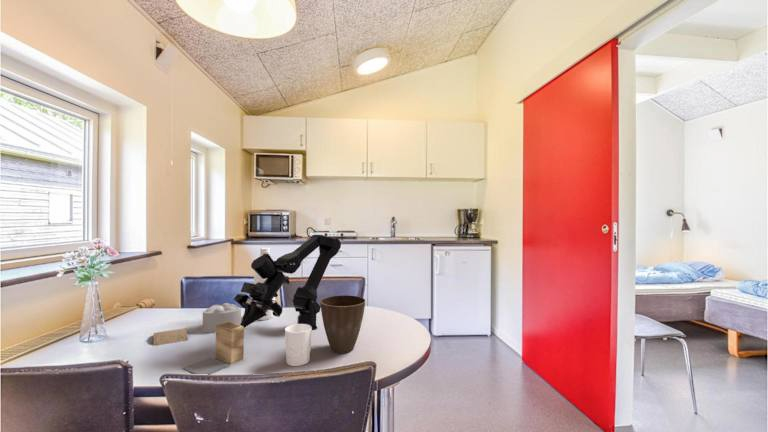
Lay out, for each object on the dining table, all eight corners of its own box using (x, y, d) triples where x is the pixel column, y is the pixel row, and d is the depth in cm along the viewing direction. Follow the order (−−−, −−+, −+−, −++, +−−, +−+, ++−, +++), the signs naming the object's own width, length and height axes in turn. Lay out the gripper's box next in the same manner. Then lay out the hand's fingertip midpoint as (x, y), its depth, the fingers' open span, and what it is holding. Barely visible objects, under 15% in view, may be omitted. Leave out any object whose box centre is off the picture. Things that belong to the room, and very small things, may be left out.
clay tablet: (188, 342, 111) (188, 334, 111) (152, 349, 105) (152, 340, 105) (185, 330, 123) (185, 323, 123) (153, 335, 117) (153, 328, 117)
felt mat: (210, 358, 97) (210, 357, 97) (229, 366, 92) (229, 365, 92) (182, 368, 90) (182, 367, 90) (202, 377, 85) (202, 376, 85)
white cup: (287, 369, 90) (287, 334, 90) (282, 358, 97) (282, 325, 97) (314, 364, 94) (314, 330, 94) (307, 353, 101) (308, 322, 101)
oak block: (227, 353, 101) (228, 321, 101) (243, 359, 97) (243, 325, 97) (215, 357, 98) (216, 324, 98) (231, 364, 93) (231, 329, 93)
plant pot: (325, 339, 113) (325, 294, 113) (366, 340, 113) (367, 295, 113) (314, 357, 98) (315, 305, 98) (362, 359, 98) (363, 306, 98)
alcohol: (249, 317, 138) (250, 248, 138) (269, 313, 144) (270, 247, 144) (257, 322, 131) (258, 249, 132) (278, 317, 137) (279, 248, 138)
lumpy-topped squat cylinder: (210, 323, 129) (211, 302, 129) (244, 322, 131) (244, 301, 131) (199, 332, 119) (200, 309, 119) (236, 331, 121) (236, 308, 121)
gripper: (239, 270, 110) (207, 309, 101) (276, 275, 101) (244, 319, 91) (258, 288, 117) (229, 327, 107) (294, 295, 107) (266, 338, 98)
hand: (241, 327), depth 101 cm, fingers closed
